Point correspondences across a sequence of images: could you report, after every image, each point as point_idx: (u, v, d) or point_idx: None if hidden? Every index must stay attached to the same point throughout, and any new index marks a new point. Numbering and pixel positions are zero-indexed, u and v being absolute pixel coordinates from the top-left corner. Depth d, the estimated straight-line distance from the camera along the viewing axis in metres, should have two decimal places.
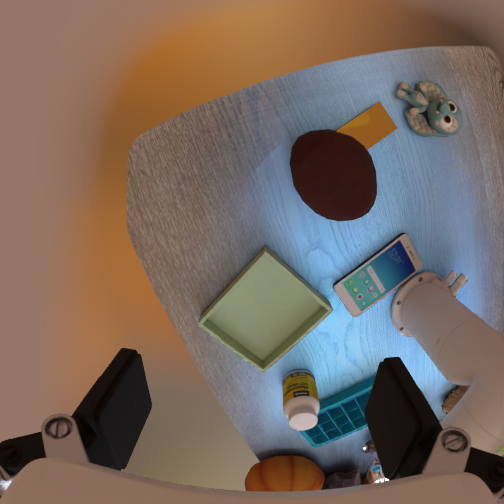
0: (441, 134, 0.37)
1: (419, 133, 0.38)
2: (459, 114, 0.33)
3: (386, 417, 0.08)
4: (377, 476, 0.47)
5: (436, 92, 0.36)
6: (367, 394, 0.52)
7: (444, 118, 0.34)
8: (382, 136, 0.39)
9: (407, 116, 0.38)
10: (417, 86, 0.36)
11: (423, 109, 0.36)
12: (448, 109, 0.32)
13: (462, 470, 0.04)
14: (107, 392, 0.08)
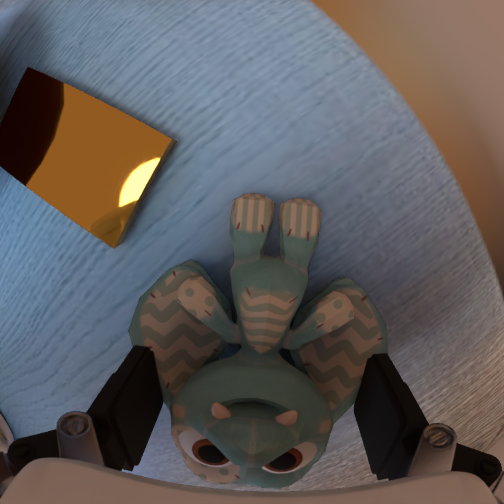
0: None
1: (137, 338, 0.11)
2: (269, 485, 0.08)
3: (374, 412, 0.09)
4: None
5: (349, 364, 0.11)
6: None
7: (205, 444, 0.08)
8: (60, 204, 0.11)
9: (172, 274, 0.11)
10: (338, 283, 0.11)
11: (227, 336, 0.10)
12: None
13: (446, 466, 0.05)
14: (122, 388, 0.08)
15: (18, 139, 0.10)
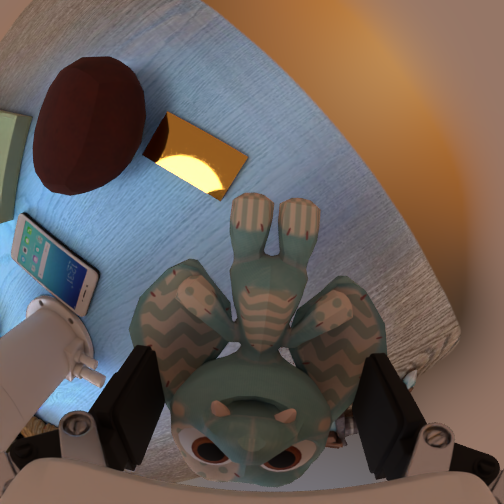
0: None
1: (137, 336, 0.11)
2: (268, 484, 0.08)
3: (372, 411, 0.09)
4: None
5: (348, 363, 0.11)
6: None
7: (204, 442, 0.08)
8: (193, 181, 0.27)
9: (172, 273, 0.11)
10: (337, 282, 0.11)
11: (227, 335, 0.10)
12: None
13: (444, 466, 0.05)
14: (124, 388, 0.08)
15: (165, 148, 0.26)
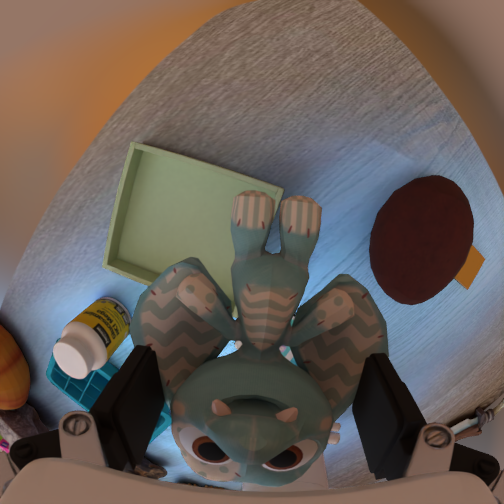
0: None
1: (138, 335, 0.11)
2: (269, 483, 0.08)
3: (372, 411, 0.09)
4: None
5: (349, 362, 0.11)
6: None
7: (205, 441, 0.08)
8: (457, 277, 0.31)
9: (172, 271, 0.11)
10: (339, 280, 0.11)
11: (228, 333, 0.10)
12: None
13: (444, 466, 0.05)
14: (124, 388, 0.08)
15: None
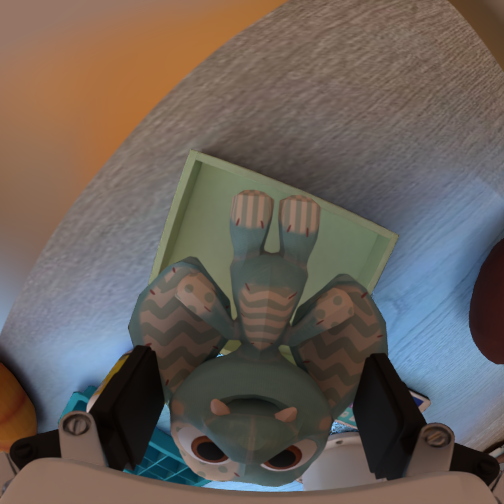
0: None
1: (137, 335, 0.11)
2: (268, 483, 0.08)
3: (372, 412, 0.09)
4: None
5: (349, 361, 0.11)
6: (175, 459, 0.31)
7: (204, 441, 0.08)
8: None
9: (171, 271, 0.11)
10: (338, 280, 0.11)
11: (227, 333, 0.10)
12: None
13: (444, 466, 0.05)
14: (124, 388, 0.08)
15: None
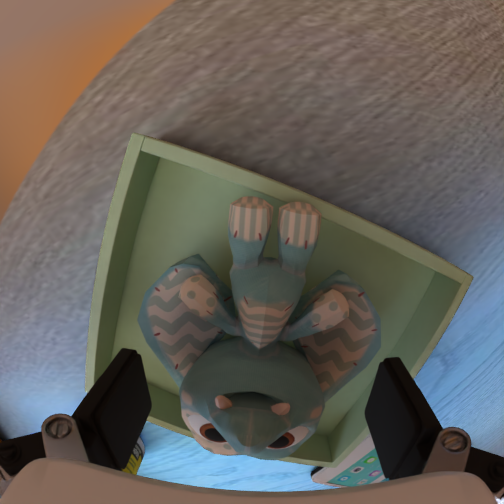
0: None
1: (146, 326, 0.12)
2: (266, 458, 0.10)
3: (387, 416, 0.08)
4: None
5: (343, 350, 0.12)
6: None
7: (210, 427, 0.10)
8: None
9: (174, 271, 0.11)
10: (337, 278, 0.11)
11: (229, 331, 0.11)
12: None
13: (462, 470, 0.04)
14: (107, 392, 0.08)
15: None
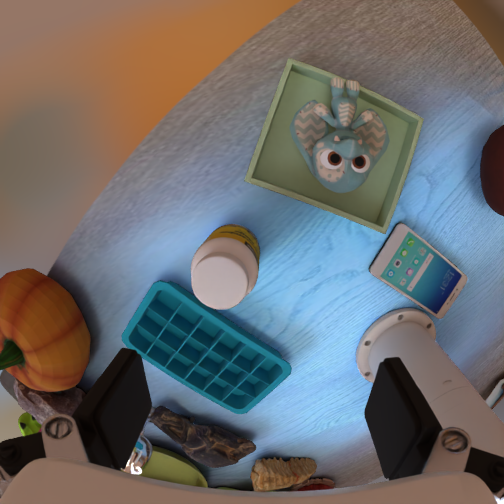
0: (310, 163, 0.28)
1: (293, 130, 0.28)
2: (355, 178, 0.26)
3: (387, 416, 0.08)
4: (133, 456, 0.31)
5: (374, 142, 0.28)
6: (247, 361, 0.38)
7: (332, 153, 0.25)
8: None
9: (308, 104, 0.27)
10: (366, 110, 0.27)
11: (332, 122, 0.26)
12: (349, 152, 0.24)
13: (462, 470, 0.04)
14: (106, 392, 0.08)
15: None
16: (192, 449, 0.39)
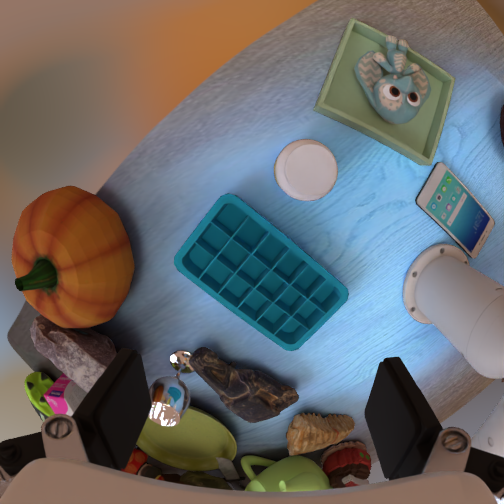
0: (372, 97, 0.29)
1: (357, 70, 0.29)
2: (410, 109, 0.27)
3: (386, 417, 0.08)
4: (172, 400, 0.32)
5: (419, 89, 0.29)
6: (302, 289, 0.39)
7: (393, 87, 0.26)
8: None
9: (369, 53, 0.28)
10: None
11: (389, 68, 0.27)
12: (407, 86, 0.25)
13: (462, 470, 0.04)
14: (107, 392, 0.08)
15: None
16: (232, 399, 0.40)
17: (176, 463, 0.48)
